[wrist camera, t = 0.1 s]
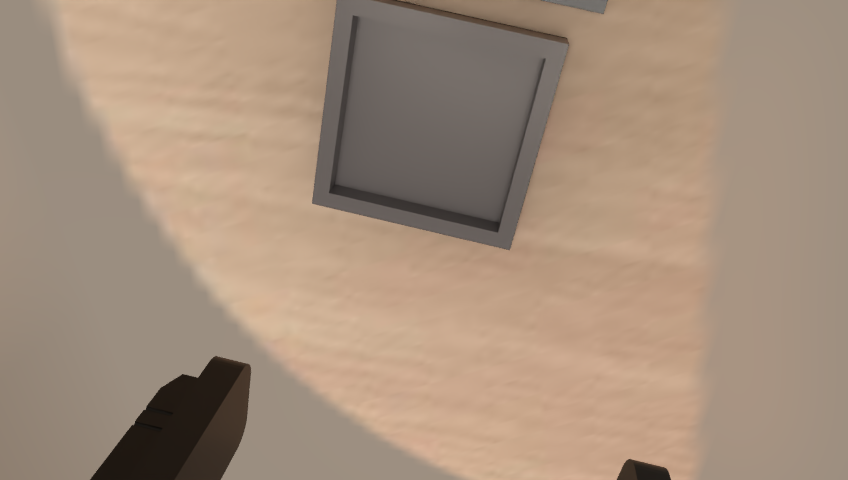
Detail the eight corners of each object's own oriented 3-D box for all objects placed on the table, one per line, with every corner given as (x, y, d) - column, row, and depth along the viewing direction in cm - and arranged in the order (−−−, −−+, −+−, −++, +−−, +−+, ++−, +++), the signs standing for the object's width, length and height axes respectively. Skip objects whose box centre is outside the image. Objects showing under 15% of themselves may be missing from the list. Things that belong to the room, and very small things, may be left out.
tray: (346, -11, 38) (337, -8, 36) (566, 38, 37) (569, 44, 36) (320, 191, 44) (311, 203, 42) (510, 236, 43) (509, 250, 42)
